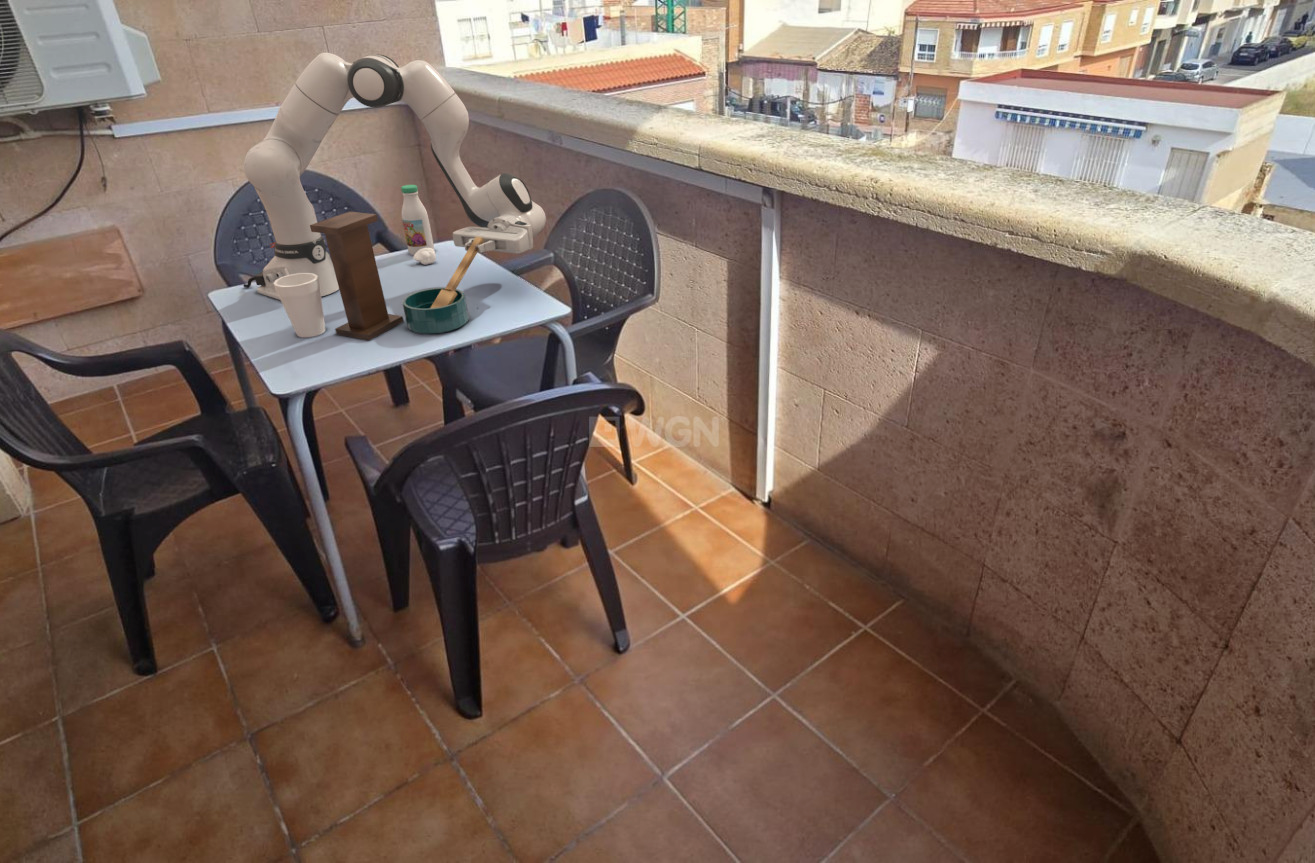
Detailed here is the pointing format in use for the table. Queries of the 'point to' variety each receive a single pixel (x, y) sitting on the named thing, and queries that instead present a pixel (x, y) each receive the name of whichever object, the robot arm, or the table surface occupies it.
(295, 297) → the foam cup
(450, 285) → the spatula
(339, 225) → the wooden pedestal
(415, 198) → the milk bottle
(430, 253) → the white lumpy piece
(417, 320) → the bowl
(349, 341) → the table surface
